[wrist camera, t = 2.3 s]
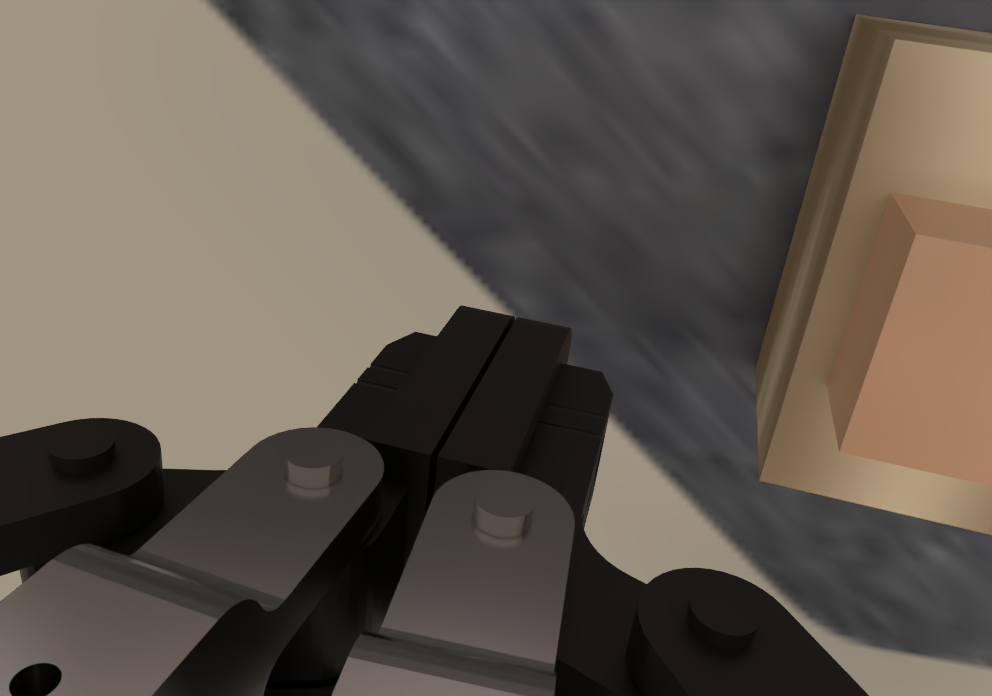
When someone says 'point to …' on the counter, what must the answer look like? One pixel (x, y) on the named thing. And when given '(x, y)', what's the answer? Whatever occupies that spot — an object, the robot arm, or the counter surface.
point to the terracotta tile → (921, 344)
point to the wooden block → (848, 243)
